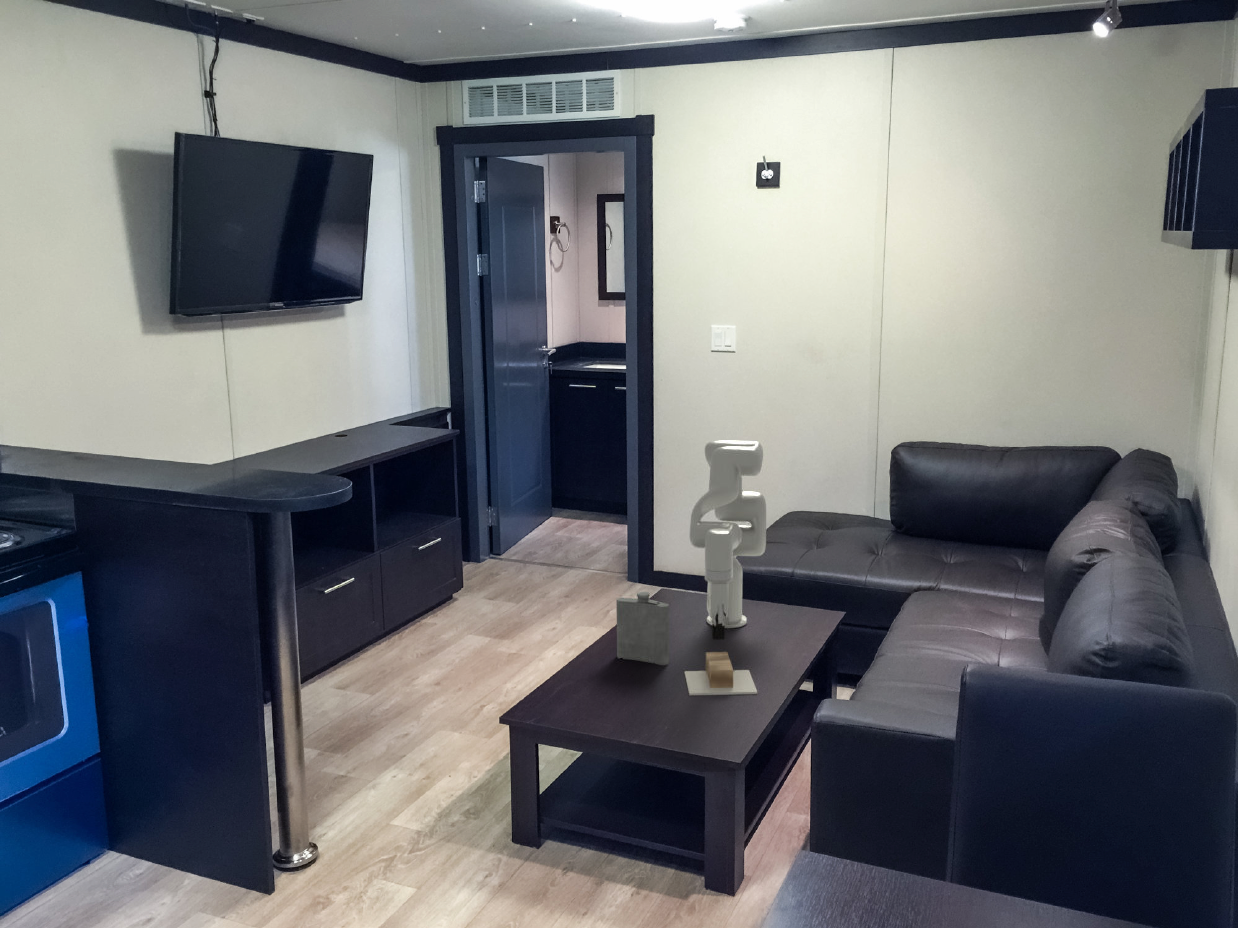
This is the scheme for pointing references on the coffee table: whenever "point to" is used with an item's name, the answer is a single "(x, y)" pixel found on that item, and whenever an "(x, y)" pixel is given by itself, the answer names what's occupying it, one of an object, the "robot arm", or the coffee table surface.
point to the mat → (701, 686)
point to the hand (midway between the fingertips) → (718, 638)
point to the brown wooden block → (719, 670)
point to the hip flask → (643, 629)
